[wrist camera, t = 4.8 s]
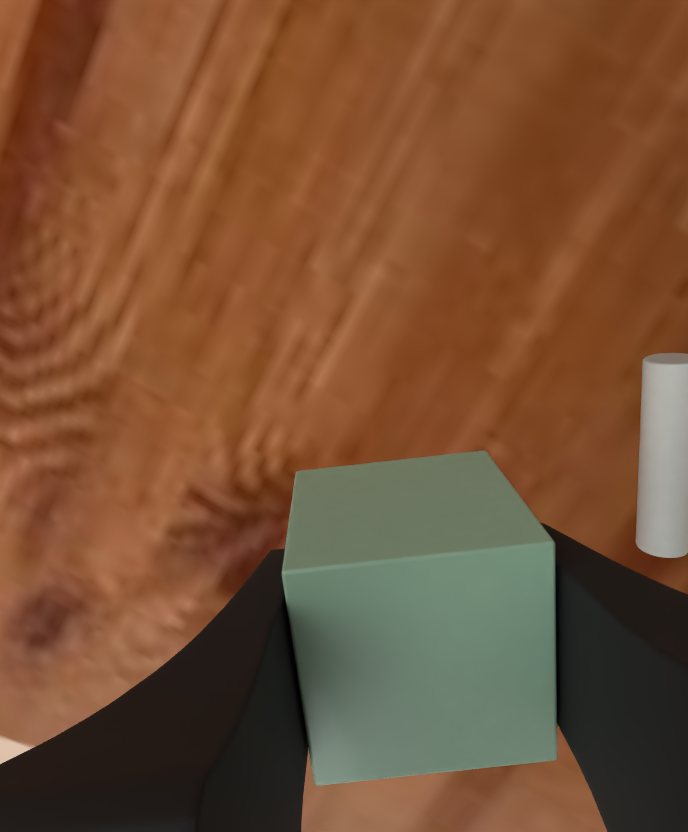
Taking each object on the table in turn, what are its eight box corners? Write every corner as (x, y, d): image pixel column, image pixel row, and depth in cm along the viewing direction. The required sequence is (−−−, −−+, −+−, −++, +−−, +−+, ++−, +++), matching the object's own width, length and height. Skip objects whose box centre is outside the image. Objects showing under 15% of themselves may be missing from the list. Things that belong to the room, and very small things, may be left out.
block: (493, 614, 14) (558, 762, 10) (318, 633, 14) (314, 788, 10) (486, 449, 12) (556, 541, 9) (295, 470, 12) (280, 572, 9)
